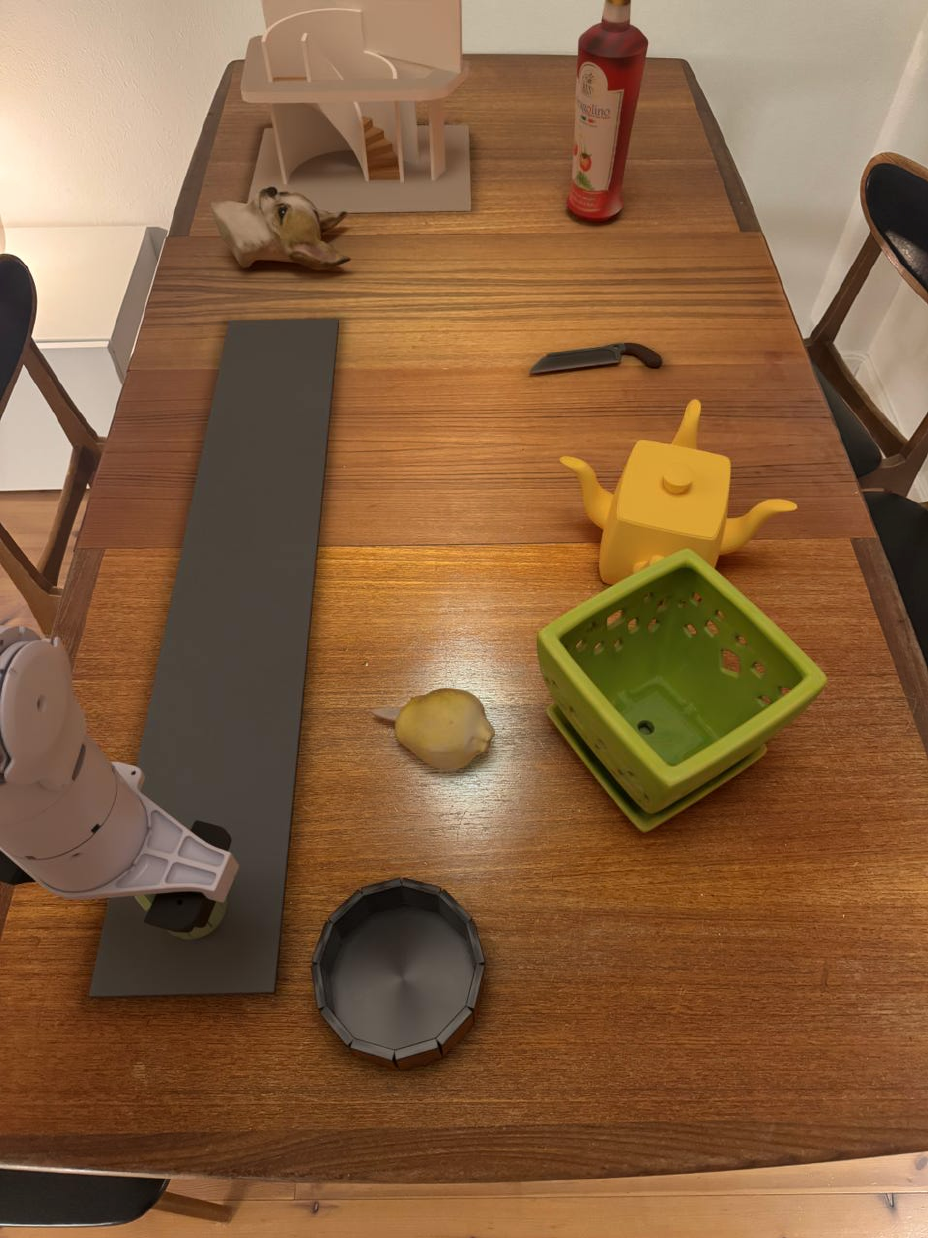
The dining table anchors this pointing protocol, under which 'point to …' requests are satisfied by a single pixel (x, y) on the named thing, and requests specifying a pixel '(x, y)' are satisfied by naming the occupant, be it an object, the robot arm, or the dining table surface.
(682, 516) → the teapot
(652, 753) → the flower pot
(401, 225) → the dining table surface
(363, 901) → the large pot
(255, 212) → the ceramic sculpture
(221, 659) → the mat
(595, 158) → the liquor
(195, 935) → the small pot
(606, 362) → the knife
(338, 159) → the architectural model
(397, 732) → the fruit
